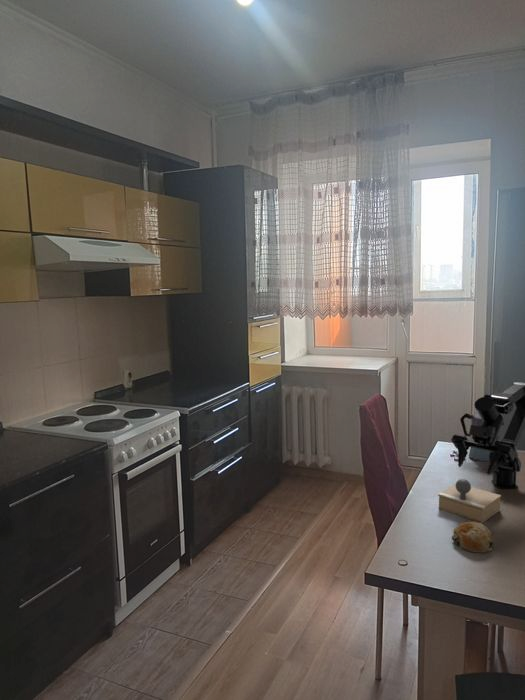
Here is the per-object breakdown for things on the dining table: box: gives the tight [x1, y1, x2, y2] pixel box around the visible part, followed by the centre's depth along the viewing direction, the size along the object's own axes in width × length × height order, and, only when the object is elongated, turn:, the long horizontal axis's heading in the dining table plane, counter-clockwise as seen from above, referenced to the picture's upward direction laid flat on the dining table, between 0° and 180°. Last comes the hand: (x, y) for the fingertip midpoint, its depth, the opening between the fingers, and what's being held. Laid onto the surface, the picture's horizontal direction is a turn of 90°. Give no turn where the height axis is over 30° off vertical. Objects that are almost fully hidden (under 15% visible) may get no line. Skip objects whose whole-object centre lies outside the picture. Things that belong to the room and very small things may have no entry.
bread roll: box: [451, 521, 494, 554], centre depth 141 cm, size 10×10×8 cm
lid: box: [437, 478, 502, 510], centre depth 161 cm, size 13×14×7 cm
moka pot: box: [460, 412, 490, 462], centre depth 206 cm, size 10×15×20 cm, turn 78°
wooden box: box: [438, 496, 501, 524], centre depth 162 cm, size 12×14×4 cm
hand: (473, 470), depth 162 cm, fingers open, 9 cm apart
